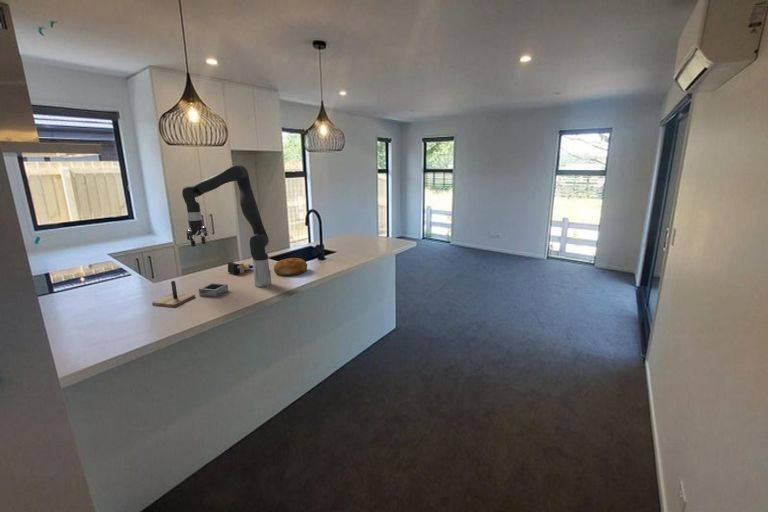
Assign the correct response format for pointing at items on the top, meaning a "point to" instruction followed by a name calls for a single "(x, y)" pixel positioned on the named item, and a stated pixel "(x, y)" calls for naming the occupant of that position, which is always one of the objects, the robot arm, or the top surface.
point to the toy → (238, 267)
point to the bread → (290, 266)
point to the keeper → (173, 298)
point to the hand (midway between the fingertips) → (198, 244)
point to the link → (213, 290)
